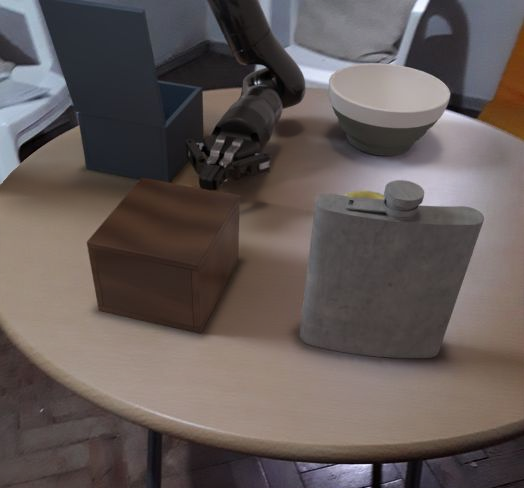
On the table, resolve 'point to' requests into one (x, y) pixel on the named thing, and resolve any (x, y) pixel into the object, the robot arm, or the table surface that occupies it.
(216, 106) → the table surface
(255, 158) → the robot arm
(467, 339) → the table surface
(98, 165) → the chest
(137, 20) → the lid
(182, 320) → the cabinet
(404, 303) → the hip flask
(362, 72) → the bowl
